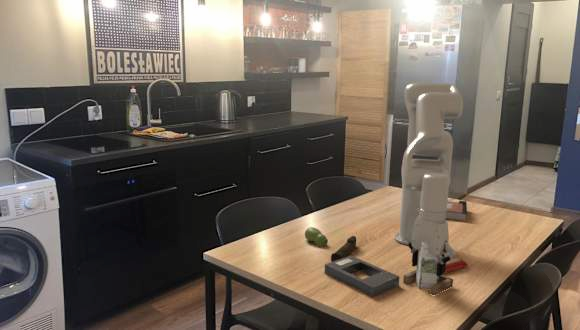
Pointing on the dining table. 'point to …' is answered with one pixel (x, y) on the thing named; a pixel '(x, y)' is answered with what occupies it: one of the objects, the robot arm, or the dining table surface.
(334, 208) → the dining table surface
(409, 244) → the robot arm
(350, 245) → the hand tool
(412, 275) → the cradle
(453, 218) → the book
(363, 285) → the grey rectangular frame
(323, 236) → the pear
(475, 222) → the dining table surface
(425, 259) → the syrup box
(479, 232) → the dining table surface
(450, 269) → the candy bar
